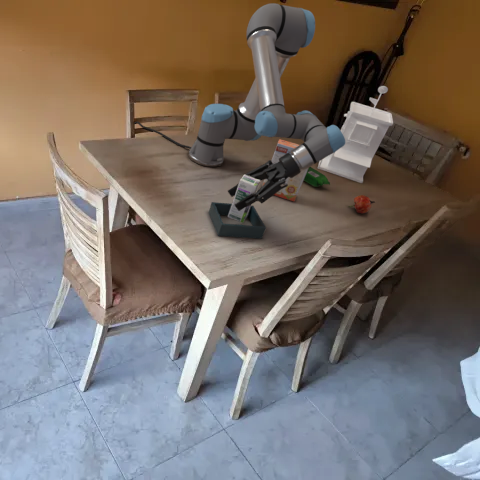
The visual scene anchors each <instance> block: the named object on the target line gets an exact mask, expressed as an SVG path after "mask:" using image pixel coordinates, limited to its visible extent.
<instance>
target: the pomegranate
mask: <svg viewBox="0 0 480 480" xmlns="http://www.w3.org/2000/svg"><path fill="white" fill-rule="evenodd" d="M353 203H354V205H348V208H352V207H354V208H355V210H356V213H357V214H366V213H368V212H369V211H370V210H371V208H372V204H376V201H373V200H371V199H370V198H369V196H366V195H364V194H360V195H357V196H355V197H354V198H353Z"/></svg>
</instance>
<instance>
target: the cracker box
mask: <svg viewBox="0 0 480 480" xmlns="http://www.w3.org/2000/svg"><path fill="white" fill-rule="evenodd" d="M299 145H300V144H298V143H295V142H292V141H288V140H285V139H281V138H279V139H278V141H277V144H276V147H275V149H274V153H273V154H272V157H271V159H270V160H271V161H272V163H273V164H275V163H278V162H279V158H280V157H282V156H283V155H285V154H287V153H289V154H290V153H291V150H293V149H294V148H296V147H298V146H299ZM300 171H301V172H300V173H299V174H298V175H296V176H295V177H293V178H290V177H288V178H287V179H286V182H287V184H288V186H287V187H285V188H283V189H281V190H280V191H278V192H277V193H276V194H274V195H273V196H275V197H278V198H281V199H285V200H287V201H290V202H295V201H296V199H297V197H298V194H299V191H300V189H301V187H302V185H303V183H304V178H305V175H306V173H307V171H308V168H307V169H306V170H304V171H302V170H300ZM267 181H268V179H264V180H263V182H262V185H261V187H262V186H263V185H264V184H265V183H266V182H267Z"/></svg>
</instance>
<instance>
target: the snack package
mask: <svg viewBox="0 0 480 480" xmlns="http://www.w3.org/2000/svg"><path fill="white" fill-rule="evenodd" d="M303 182H305V183H307V184H309V185H310V186H312V187H314V188H318V187H323V186H324V185H329V186H330V185H331V182H330V181H329V179H328V177H327V176H326V175H325V174H323V173H322V172H320V171H318V170H316V169H315V168H314V167H313V166H311V167H309V168H308V171H307V173H306V175H305V178H304V180H303Z"/></svg>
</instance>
